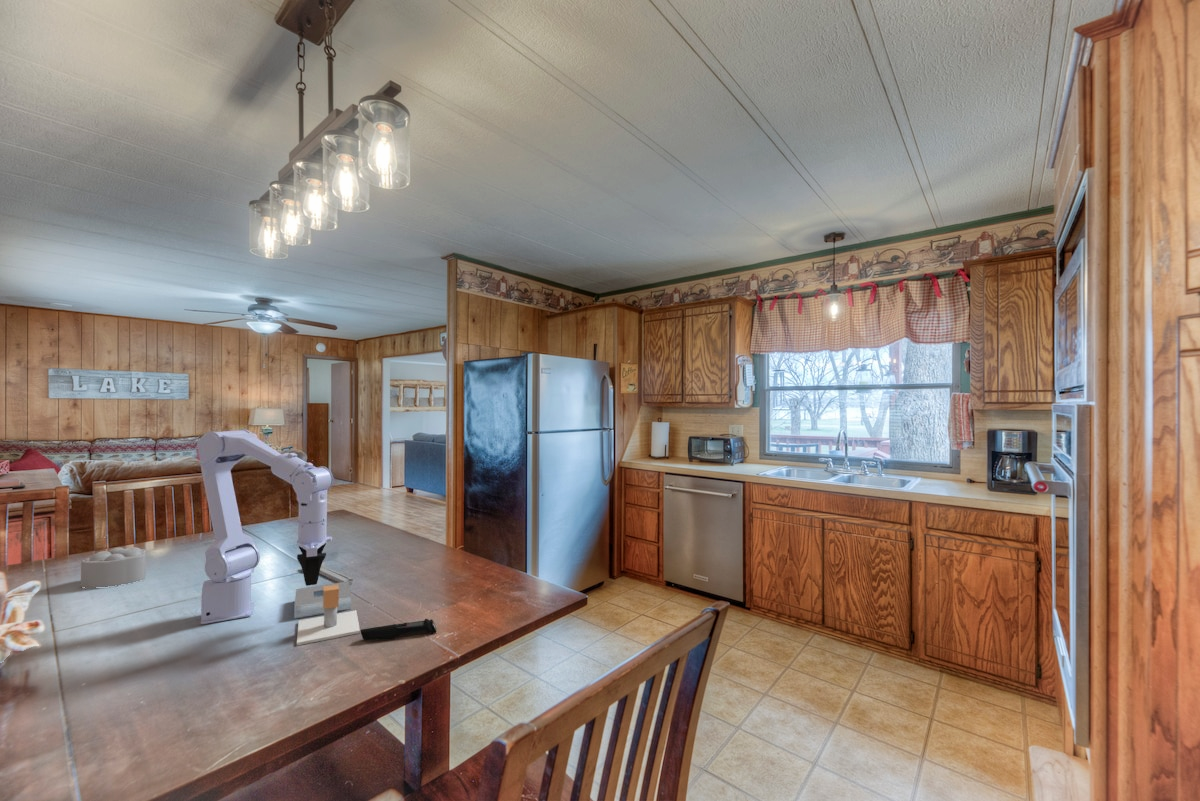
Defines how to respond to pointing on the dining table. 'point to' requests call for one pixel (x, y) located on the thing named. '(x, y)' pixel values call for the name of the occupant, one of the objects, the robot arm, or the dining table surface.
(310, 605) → the socket block
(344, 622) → the mat
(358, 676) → the dining table surface
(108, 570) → the egg container
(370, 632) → the electric trimmer
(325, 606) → the key
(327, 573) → the adjustable wrench
